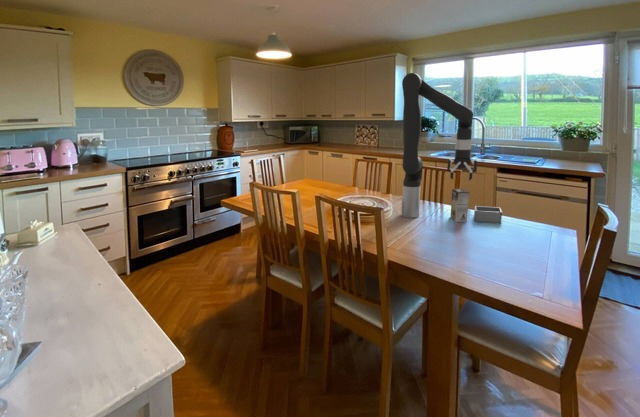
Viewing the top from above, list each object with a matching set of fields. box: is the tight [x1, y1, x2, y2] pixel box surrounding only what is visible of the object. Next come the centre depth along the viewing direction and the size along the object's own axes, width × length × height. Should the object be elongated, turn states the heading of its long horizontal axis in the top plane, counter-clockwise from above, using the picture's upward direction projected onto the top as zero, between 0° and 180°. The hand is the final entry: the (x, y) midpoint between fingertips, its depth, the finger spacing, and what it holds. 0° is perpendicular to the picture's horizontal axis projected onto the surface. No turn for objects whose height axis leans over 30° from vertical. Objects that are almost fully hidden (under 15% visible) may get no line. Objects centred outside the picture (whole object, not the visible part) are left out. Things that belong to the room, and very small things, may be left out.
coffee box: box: [450, 188, 470, 223], centre depth 203 cm, size 9×6×16 cm
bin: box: [473, 205, 503, 224], centre depth 202 cm, size 13×10×6 cm
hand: (460, 179), depth 200 cm, fingers open, 8 cm apart
